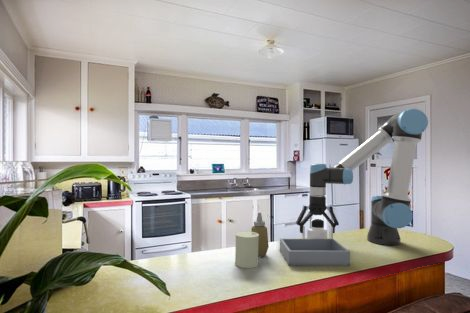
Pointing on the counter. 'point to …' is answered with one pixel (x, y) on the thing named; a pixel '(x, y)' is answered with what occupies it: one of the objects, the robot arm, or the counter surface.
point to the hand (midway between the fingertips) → (317, 239)
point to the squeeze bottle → (261, 235)
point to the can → (246, 249)
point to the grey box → (314, 252)
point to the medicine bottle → (317, 230)
